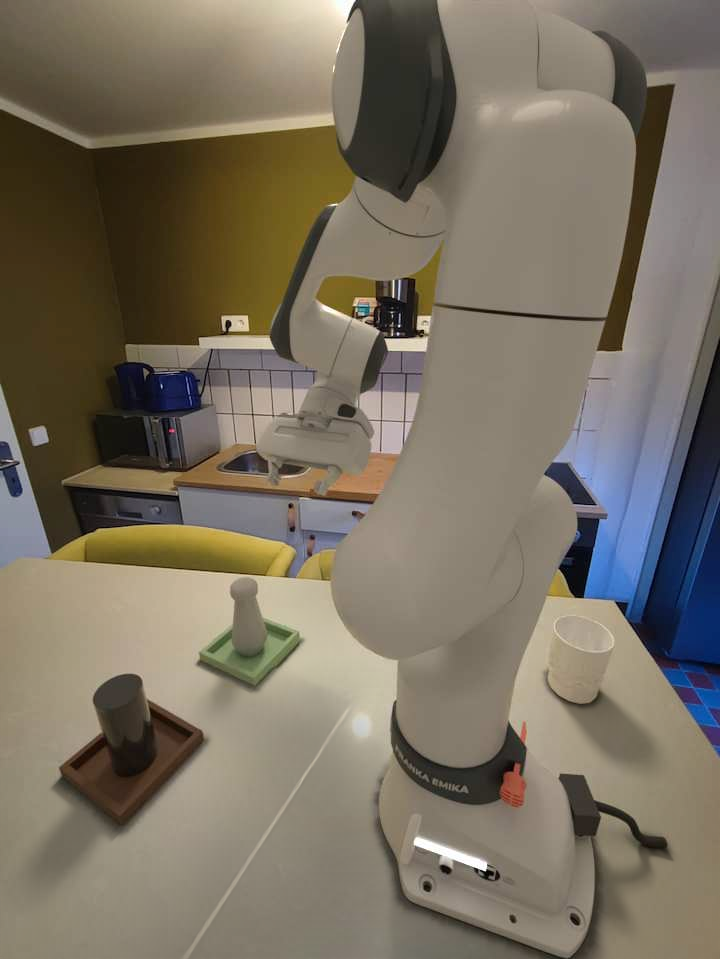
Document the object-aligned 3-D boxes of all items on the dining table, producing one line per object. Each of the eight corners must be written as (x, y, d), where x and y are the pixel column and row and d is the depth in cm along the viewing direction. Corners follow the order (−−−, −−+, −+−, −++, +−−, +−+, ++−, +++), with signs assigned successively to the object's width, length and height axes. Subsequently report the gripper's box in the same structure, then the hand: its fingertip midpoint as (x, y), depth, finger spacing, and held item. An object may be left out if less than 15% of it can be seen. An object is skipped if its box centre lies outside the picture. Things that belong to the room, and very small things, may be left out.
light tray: (300, 641, 74) (299, 631, 73) (255, 689, 65) (253, 678, 64) (248, 620, 79) (247, 611, 79) (200, 662, 70) (198, 652, 69)
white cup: (607, 684, 65) (621, 631, 61) (591, 718, 60) (605, 661, 56) (554, 658, 70) (564, 607, 67) (535, 687, 65) (544, 633, 61)
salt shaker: (259, 663, 69) (252, 595, 64) (226, 658, 70) (217, 591, 65) (273, 638, 74) (267, 574, 69) (243, 634, 75) (234, 570, 71)
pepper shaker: (167, 748, 55) (152, 683, 51) (130, 785, 51) (110, 716, 47) (140, 731, 57) (124, 667, 53) (103, 765, 53) (82, 698, 49)
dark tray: (204, 742, 56) (202, 730, 56) (123, 829, 47) (119, 816, 46) (146, 707, 62) (144, 696, 61) (62, 779, 52) (58, 767, 51)
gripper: (267, 401, 75) (234, 470, 71) (371, 411, 66) (341, 490, 62) (285, 421, 81) (255, 486, 76) (383, 433, 71) (356, 507, 67)
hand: (294, 488), depth 69 cm, fingers open, 8 cm apart
